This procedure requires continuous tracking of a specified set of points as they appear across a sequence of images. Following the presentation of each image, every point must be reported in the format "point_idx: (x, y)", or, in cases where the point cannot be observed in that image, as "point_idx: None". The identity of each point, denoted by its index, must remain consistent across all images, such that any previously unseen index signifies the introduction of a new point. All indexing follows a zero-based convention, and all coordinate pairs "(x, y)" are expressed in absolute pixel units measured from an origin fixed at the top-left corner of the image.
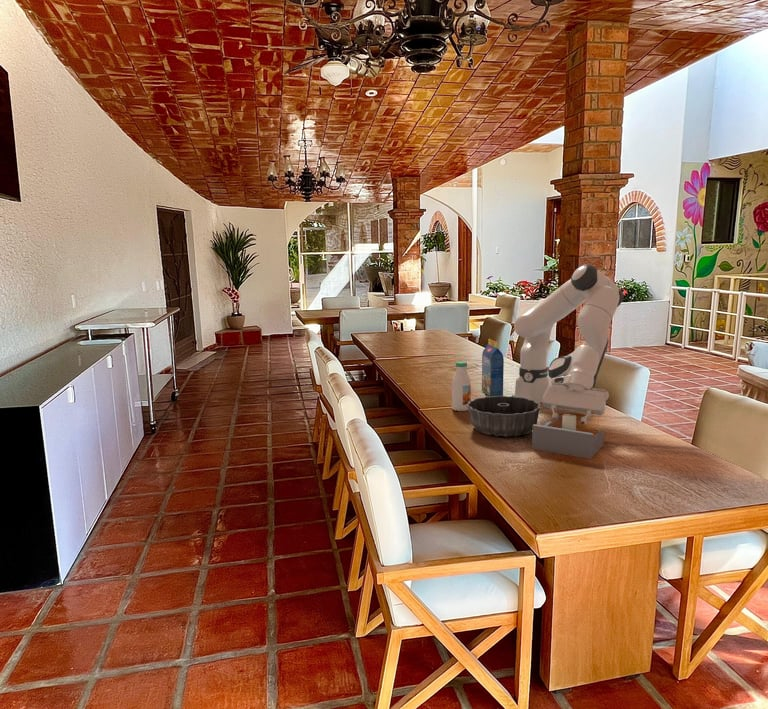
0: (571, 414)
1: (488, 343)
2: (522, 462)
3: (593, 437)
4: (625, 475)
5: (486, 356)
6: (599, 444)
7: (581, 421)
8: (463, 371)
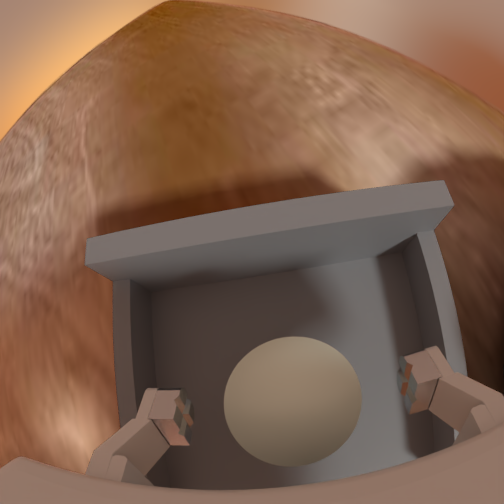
0: (294, 457)
1: None
2: (335, 111)
3: (131, 366)
4: (49, 217)
5: None
6: None
7: (176, 388)
8: None
